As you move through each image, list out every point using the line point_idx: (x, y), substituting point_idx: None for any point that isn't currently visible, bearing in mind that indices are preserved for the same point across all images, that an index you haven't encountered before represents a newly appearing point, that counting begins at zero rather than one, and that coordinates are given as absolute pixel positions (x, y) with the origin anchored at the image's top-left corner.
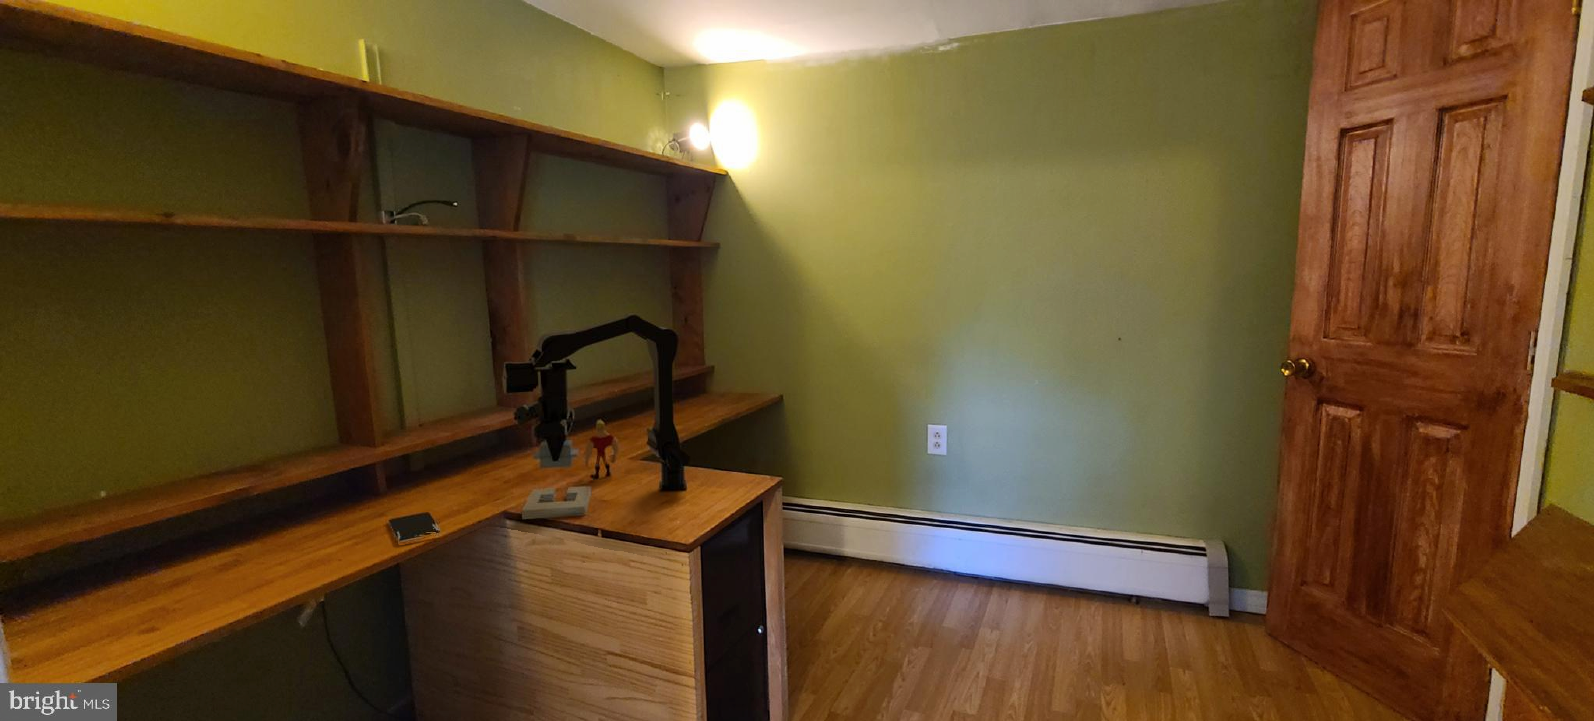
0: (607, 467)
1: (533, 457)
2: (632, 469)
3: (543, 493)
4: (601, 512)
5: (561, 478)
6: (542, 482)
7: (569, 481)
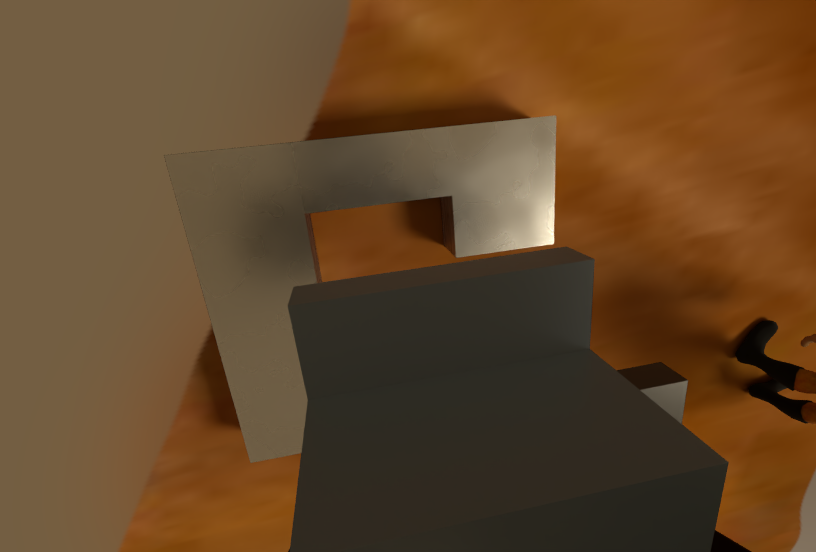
0: (787, 410)
1: (290, 297)
2: (795, 451)
3: (469, 202)
4: (296, 480)
5: (789, 189)
6: (761, 102)
7: (731, 241)
